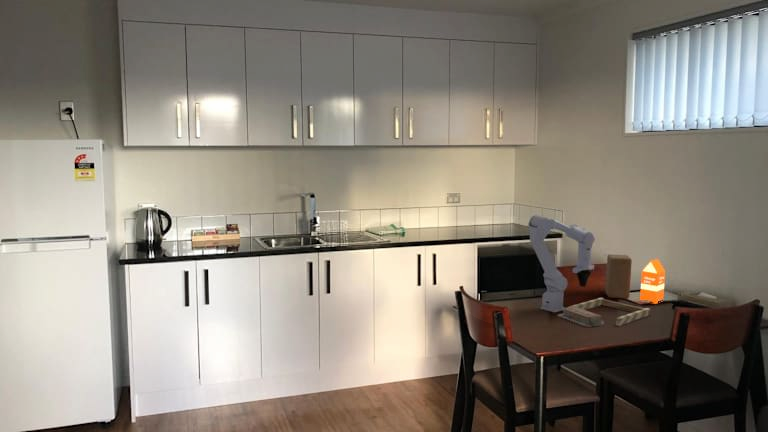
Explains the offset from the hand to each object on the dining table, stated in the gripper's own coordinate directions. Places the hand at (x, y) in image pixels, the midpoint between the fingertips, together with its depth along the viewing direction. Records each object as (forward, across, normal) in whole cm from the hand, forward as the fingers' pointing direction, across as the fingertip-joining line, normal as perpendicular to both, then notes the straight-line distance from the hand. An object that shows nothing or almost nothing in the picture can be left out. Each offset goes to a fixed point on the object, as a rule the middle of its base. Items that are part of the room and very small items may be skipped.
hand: (582, 286), depth 287 cm
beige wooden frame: (+9, -2, -15) cm, 18 cm away
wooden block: (+10, +31, 0) cm, 32 cm away
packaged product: (+10, -20, -12) cm, 26 cm away
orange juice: (+10, +36, -15) cm, 40 cm away
